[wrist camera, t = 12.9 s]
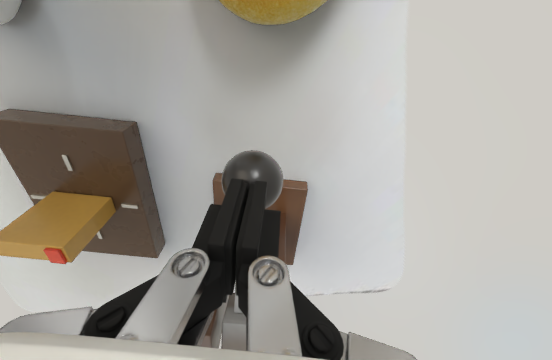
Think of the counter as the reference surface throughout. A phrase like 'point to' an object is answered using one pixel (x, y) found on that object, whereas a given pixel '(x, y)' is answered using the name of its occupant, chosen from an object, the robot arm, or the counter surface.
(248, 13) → the bread roll
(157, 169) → the counter surface
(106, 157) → the plate
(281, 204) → the handle bracket
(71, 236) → the lock knob
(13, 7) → the plastic bottle
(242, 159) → the door lever
